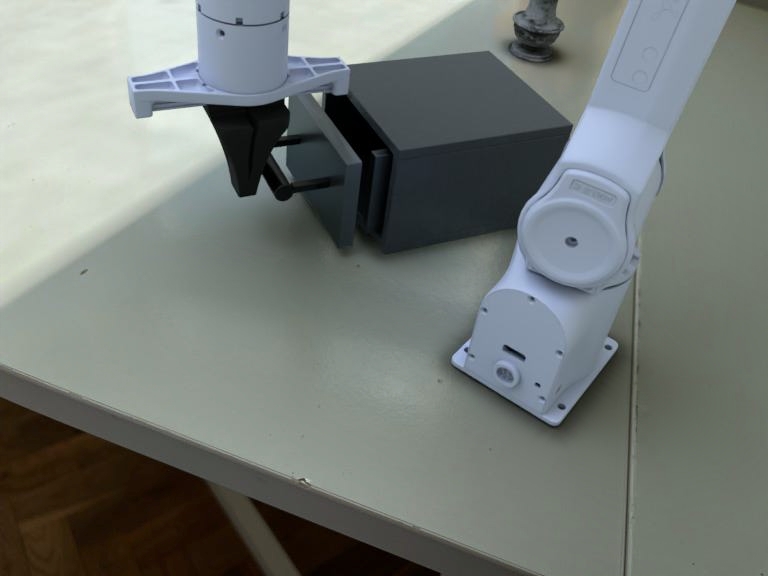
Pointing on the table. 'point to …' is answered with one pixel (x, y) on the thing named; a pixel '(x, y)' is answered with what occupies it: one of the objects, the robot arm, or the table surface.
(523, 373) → the robot arm
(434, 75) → the cabinet
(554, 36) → the ornate metal candlestick
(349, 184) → the drawer
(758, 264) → the table surface
